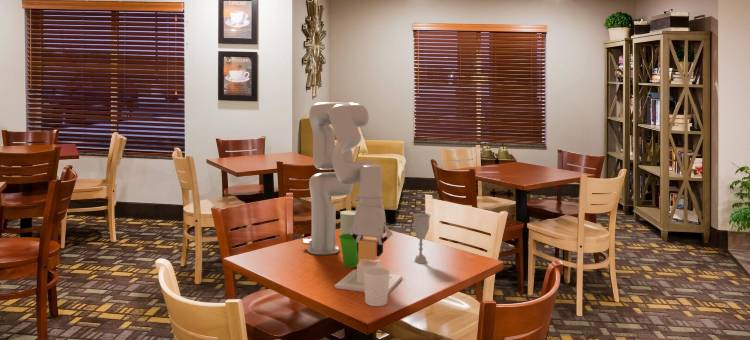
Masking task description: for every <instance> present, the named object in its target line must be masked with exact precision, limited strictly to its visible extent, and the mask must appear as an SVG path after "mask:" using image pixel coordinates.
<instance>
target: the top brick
mask: <svg viewBox="0 0 750 340" xmlns="http://www.w3.org/2000/svg"><path fill="white" fill-rule="evenodd" d="M377 245H378V240H377V237H371V236H363V238H362V239H361V240H359V246H358V258H359V260H360V259H361V260H364V259H368V260H379V258H381V256H382V254H381V255H380V256H377Z"/></svg>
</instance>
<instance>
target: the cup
mask: <svg viewBox="0 0 750 340" xmlns="http://www.w3.org/2000/svg"><path fill="white" fill-rule="evenodd" d="M338 238H339V241H340V246H341V248H340V249H341V253H342V260H343V265H344V267H346V268H355V267H356V268H357V264H359V263H360V261H359V260H360V259H359V258H358V251H357V242H356V240H355V239H354V238H353V237H352V235H351V234H350V233H348V234H342V235H339V236H338Z"/></svg>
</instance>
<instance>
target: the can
mask: <svg viewBox="0 0 750 340" xmlns="http://www.w3.org/2000/svg"><path fill="white" fill-rule="evenodd" d="M355 212H356V210H352V209H351V210H350V209H349V210H342V211H340V213H339V214H340V233H339V234H340V235H342V234H348V233H349V232H348V230H349V229H350V228H351V227H352V226H353V225H354V220H355ZM340 235H339V236H340Z"/></svg>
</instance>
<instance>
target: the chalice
mask: <svg viewBox="0 0 750 340" xmlns="http://www.w3.org/2000/svg"><path fill="white" fill-rule="evenodd" d="M431 216H432V215H431V214H430V213H424V212H422V213H421V212H418V213H413V214H412V217H413V230H414V233H415V236H416V237H417V239H418V240H419V243H418V246H419V248H418V250H419V251H418V252H419V253H418V254H417V255H416V256H415V258H414V260H413V262H414V263H416V264H426V263H428V261H427V258H426V256H425V255H424V254H423V250H424V248H423V245H424V244H423V240H425V238H426V236H427V235H428V232H429V229H430V218H431Z"/></svg>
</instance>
